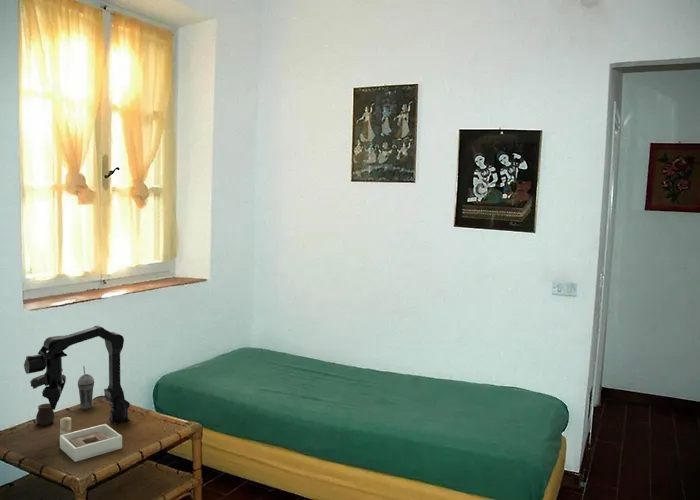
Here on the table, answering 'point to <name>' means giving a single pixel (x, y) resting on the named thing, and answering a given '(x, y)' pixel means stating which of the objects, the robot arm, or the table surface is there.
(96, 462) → the table surface
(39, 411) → the mate gourd
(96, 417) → the table surface
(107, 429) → the open box
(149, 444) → the table surface
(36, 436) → the table surface
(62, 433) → the peg
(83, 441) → the bore plate
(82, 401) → the beverage cup
